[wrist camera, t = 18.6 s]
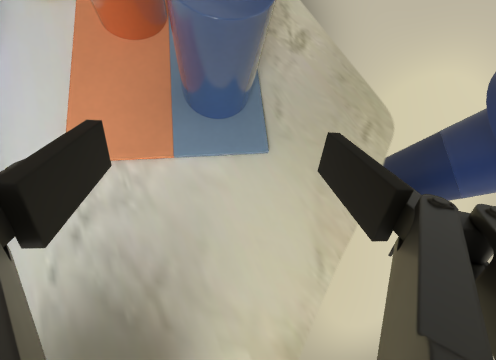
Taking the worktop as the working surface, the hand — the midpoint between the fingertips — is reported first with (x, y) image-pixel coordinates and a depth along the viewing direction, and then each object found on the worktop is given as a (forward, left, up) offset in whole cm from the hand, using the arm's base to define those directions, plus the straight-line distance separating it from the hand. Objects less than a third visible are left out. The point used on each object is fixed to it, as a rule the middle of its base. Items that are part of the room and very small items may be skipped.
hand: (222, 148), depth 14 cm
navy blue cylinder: (-1, -10, -8) cm, 12 cm away
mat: (+4, -13, -8) cm, 16 cm away
